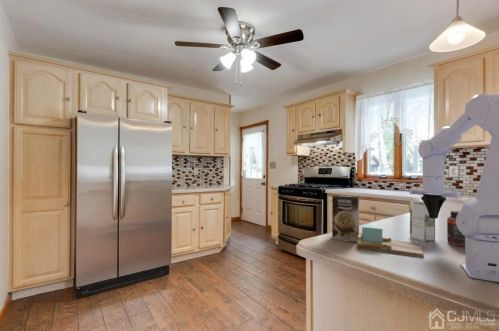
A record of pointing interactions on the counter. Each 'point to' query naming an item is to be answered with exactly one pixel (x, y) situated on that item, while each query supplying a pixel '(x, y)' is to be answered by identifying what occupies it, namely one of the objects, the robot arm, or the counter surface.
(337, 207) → the cookie box
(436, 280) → the counter surface
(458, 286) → the counter surface
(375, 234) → the teal block
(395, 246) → the slide board
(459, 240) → the supplement bottle
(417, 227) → the syrup box
